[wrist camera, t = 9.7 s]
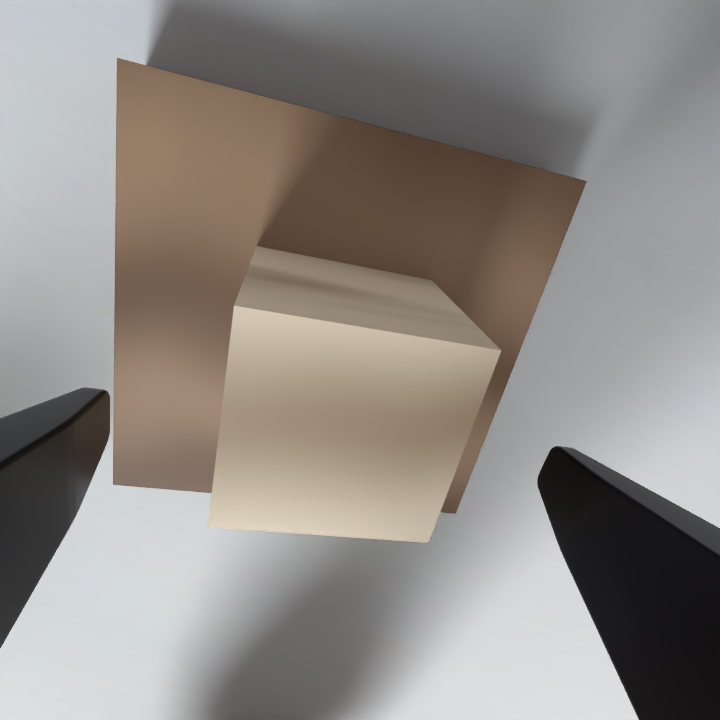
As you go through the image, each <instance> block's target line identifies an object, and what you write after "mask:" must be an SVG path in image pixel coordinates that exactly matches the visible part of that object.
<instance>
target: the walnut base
mask: <svg viewBox="0 0 720 720" xmlns="http://www.w3.org/2000/svg"><path fill="white" fill-rule="evenodd" d="M586 182H587V181H584V180H580V179H576V178H573V177H569V176H565V175H561V174H557V173H554V172H550V171H546V170H542V169H538V168H535V167H531V166H527V165H523V164H519V163H515V162H512V161H508V160H504V159H500V158H496V157H493V156H489V155H485V154H481V153H477V152H474V151H470V150H466V149H462V148H458V147H455V146H451V145H447V144H443V143H439V142H435V141H432V140H428V139H424V138H420V137H416V136H413V135H409V134H405V133H401V132H397V131H394V130H390V129H386V128H382V127H378V126H375V125H371V124H367V123H363V122H359V121H355V120H352V119H348V118H344V117H340V116H336V115H333V114H329V113H325V112H321V111H317V110H314V109H310V108H306V107H302V106H298V105H294V104H291V103H287V102H283V101H279V100H275V99H272V98H268V97H264V96H260V95H256V94H253V93H249V92H245V91H241V90H237V89H234V88H230V87H226V86H222V85H218V84H214V83H211V82H207V81H203V80H199V79H195V78H192V77H188V76H184V75H180V74H176V73H173V72H169V71H165V70H161V69H157V68H154V67H150V66H146V65H142V64H138V63H134V62H131V61H127V60H123V59H119V58H117V115H116V223H115V330H114V437H113V485H124V486H135V487H147V488H159V489H171V490H183V491H195V492H207V493H212V486H213V478H214V470H215V461H216V453H217V444H218V436H219V427H220V419H221V411H222V402H223V394H224V385H225V377H226V369H227V360H228V352H229V343H230V335H231V327H232V318H233V310H234V304H235V302H236V299H237V296H238V294H239V291H240V288H241V286H242V283H243V281H244V278H245V275H246V273H247V270H248V267H249V265H250V262H251V259H252V257H253V254H254V252H255V249H256V246H259V247H264V248H269V249H274V250H280V251H285V252H290V253H295V254H300V255H305V256H310V257H315V258H320V259H325V260H331V261H336V262H341V263H346V264H351V265H356V266H361V267H366V268H371V269H376V270H382V271H387V272H392V273H397V274H402V275H407V276H412V277H417V278H422V279H427V280H432V281H433V282H434V283H435V284H436V285H437V286H438V287H439V288H440V289H441V290H442V291H443V292H444V293H445V294H446V295H447V296H448V297H449V298H450V299H451V300H452V301H453V302H454V303H455V304H456V305H457V306H458V307H459V308H460V309H461V310H462V311H463V312H464V313H465V314H466V315H467V316H468V317H469V318H470V319H471V320H472V321H473V322H474V323H475V324H476V325H477V326H478V327H479V328H480V329H481V330H482V331H483V332H484V333H485V334H486V335H487V337H488V338H489V339H490V340H491V341H492V342H493V343H494V344H495V345H496V346H497V347H498V348H499V349H500V350H501V353H500V356H499V358H498V361H497V364H496V366H495V369H494V371H493V374H492V377H491V379H490V382H489V385H488V387H487V390H486V393H485V395H484V398H483V401H482V403H481V406H480V408H479V411H478V414H477V416H476V419H475V422H474V424H473V427H472V430H471V432H470V435H469V438H468V440H467V443H466V445H465V448H464V451H463V453H462V456H461V459H460V461H459V464H458V467H457V469H456V472H455V475H454V477H453V480H452V482H451V485H450V488H449V490H448V493H447V496H446V498H445V501H444V504H443V506H442V509H441V512H444V513H456V511H457V508H458V506H459V503H460V501H461V498H462V496H463V493H464V491H465V488H466V486H467V483H468V480H469V478H470V475H471V473H472V470H473V468H474V465H475V463H476V460H477V458H478V455H479V453H480V450H481V448H482V445H483V442H484V440H485V437H486V435H487V432H488V430H489V427H490V425H491V422H492V420H493V417H494V415H495V412H496V410H497V407H498V404H499V402H500V399H501V397H502V394H503V392H504V389H505V387H506V384H507V382H508V379H509V377H510V374H511V372H512V369H513V367H514V364H515V361H516V359H517V356H518V354H519V351H520V349H521V346H522V344H523V341H524V339H525V336H526V334H527V331H528V329H529V326H530V323H531V321H532V318H533V316H534V313H535V311H536V308H537V306H538V303H539V301H540V298H541V296H542V293H543V291H544V288H545V285H546V283H547V280H548V278H549V275H550V273H551V270H552V268H553V265H554V263H555V260H556V258H557V255H558V253H559V250H560V248H561V245H562V242H563V240H564V237H565V235H566V232H567V230H568V227H569V225H570V222H571V220H572V217H573V215H574V212H575V210H576V207H577V204H578V202H579V199H580V197H581V194H582V192H583V189H584V187H585V184H586Z"/></svg>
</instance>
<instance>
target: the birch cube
mask: <svg viewBox="0 0 720 720" xmlns="http://www.w3.org/2000/svg"><path fill="white" fill-rule="evenodd" d="M500 353H501V350H500V349H499V348H498V347H497V346H496V345H495V344H494V343H493V342H492V341H491V340H490V339H489V338H488V337H487V335H486V334H485V333H484V332H483V331H482V330H481V329H480V328H479V327H478V326H477V325H476V324H475V323H474V322H473V321H472V320H471V319H470V318H469V317H468V316H467V315H466V314H465V313H464V312H463V311H462V310H461V309H460V308H459V307H458V306H457V305H456V304H455V303H454V302H453V301H452V300H451V299H450V298H449V297H448V296H447V295H446V294H445V293H444V292H443V291H442V290H441V289H440V288H439V287H438V286H437V285H436V284H435V283H434V282H433V281H432V280H427V279H422V278H417V277H412V276H407V275H402V274H397V273H392V272H387V271H382V270H376V269H371V268H366V267H361V266H356V265H351V264H346V263H341V262H336V261H331V260H325V259H320V258H315V257H310V256H305V255H300V254H295V253H290V252H285V251H280V250H274V249H269V248H264V247H259V246H256V249H255V252H254V254H253V257H252V259H251V262H250V265H249V267H248V270H247V273H246V275H245V278H244V281H243V283H242V286H241V288H240V291H239V294H238V296H237V299H236V302H235V304H234V310H233V318H232V327H231V335H230V343H229V352H228V360H227V369H226V377H225V385H224V394H223V402H222V411H221V419H220V427H219V436H218V444H217V453H216V461H215V470H214V478H213V486H212V495H211V503H210V512H209V520H208V528H223V529H237V530H251V531H266V532H280V533H294V534H309V535H323V536H337V537H352V538H366V539H380V540H395V541H409V542H424V543H429V541H430V538H431V535H432V533H433V530H434V527H435V525H436V522H437V520H438V517H439V514H440V512H441V509H442V506H443V504H444V501H445V498H446V496H447V493H448V490H449V488H450V485H451V482H452V480H453V477H454V475H455V472H456V469H457V467H458V464H459V461H460V459H461V456H462V453H463V451H464V448H465V445H466V443H467V440H468V438H469V435H470V432H471V430H472V427H473V424H474V422H475V419H476V416H477V414H478V411H479V408H480V406H481V403H482V401H483V398H484V395H485V393H486V390H487V387H488V385H489V382H490V379H491V377H492V374H493V371H494V369H495V366H496V364H497V361H498V358H499V356H500Z"/></svg>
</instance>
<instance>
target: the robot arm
mask: <svg viewBox="0 0 720 720" xmlns="http://www.w3.org/2000/svg"><path fill="white" fill-rule="evenodd" d="M109 432H110V396H109V393H108V392H107V391H105V390H101V389H92V388H80V389H78V390H75V391H72V392H70V393H67V394H64V395H62V396H59V397H56V398H54V399H51V400H48V401H46V402H43V403H40V404H38V405H35V406H32V407H30V408H27V409H24V410H22V411H19V412H16V413H14V414H11V415H8V416H6V417H3V418H0V648H1V646H2V645H3V643H4V641H5V639H6V638H7V636H8V634H9V632H10V631H11V629H12V627H13V625H14V624H15V622H16V620H17V618H18V617H19V615H20V613H21V612H22V610H23V608H24V606H25V605H26V603H27V601H28V599H29V598H30V596H31V594H32V592H33V591H34V589H35V587H36V585H37V584H38V582H39V580H40V578H41V577H42V575H43V573H44V571H45V570H46V568H47V566H48V564H49V563H50V561H51V559H52V557H53V556H54V554H55V552H56V550H57V549H58V547H59V545H60V543H61V542H62V540H63V538H64V537H65V535H66V533H67V531H68V530H69V528H70V526H71V524H72V522H73V520H74V518H75V517H76V515H77V512H78V510H79V508H80V506H81V504H82V501H83V499H84V496H85V494H86V492H87V489H88V487H89V485H90V482H91V480H92V477H93V475H94V473H95V470H96V468H97V465H98V463H99V461H100V458H101V456H102V454H103V451H104V449H105V446H106V444H107V441H108V438H109ZM537 483H538V488H539V491H540V494H541V497H542V500H543V503H544V505H545V508H546V511H547V514H548V517H549V519H550V522H551V525H552V528H553V531H554V534H555V536H556V539H557V542H558V545H559V547H560V550H561V552H562V554H563V557H564V559H565V561H566V563H567V566H568V568H569V570H570V572H571V574H572V576H573V578H574V581H575V583H576V585H577V587H578V589H579V591H580V594H581V596H582V598H583V600H584V602H585V604H586V607H587V609H588V611H589V613H590V615H591V617H592V620H593V622H594V624H595V626H596V628H597V630H598V632H599V635H600V637H601V639H602V641H603V643H604V645H605V648H606V650H607V652H608V654H609V656H610V658H611V661H612V663H613V665H614V667H615V669H616V671H617V673H618V676H619V678H620V680H621V682H622V684H623V686H624V689H625V691H626V693H627V695H628V697H629V699H630V702H631V704H632V706H633V708H634V710H635V712H636V715H637V717H638V719H639V720H720V528H718V527H716V526H714V525H713V524H711V523H709V522H707V521H705V520H703V519H702V518H700V517H698V516H696V515H694V514H693V513H691V512H689V511H687V510H685V509H683V508H682V507H680V506H678V505H676V504H674V503H672V502H671V501H669V500H667V499H665V498H663V497H661V496H660V495H658V494H656V493H654V492H652V491H650V490H649V489H647V488H645V487H643V486H641V485H639V484H638V483H636V482H634V481H632V480H630V479H629V478H627V477H625V476H623V475H621V474H619V473H618V472H616V471H614V470H612V469H610V468H608V467H607V466H605V465H603V464H601V463H599V462H597V461H596V460H594V459H592V458H590V457H588V456H586V455H585V454H583V453H581V452H579V451H577V450H576V449H573V448H569V447H561V446H556V447H553V448H552V449H551V450H550V452H549V454H548V456H547V458H546V460H545V462H544V464H543V467H542V469H541V471H540V473H539V475H538V482H537Z"/></svg>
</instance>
